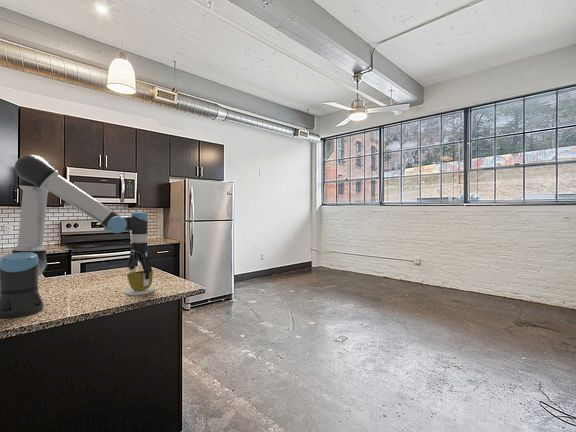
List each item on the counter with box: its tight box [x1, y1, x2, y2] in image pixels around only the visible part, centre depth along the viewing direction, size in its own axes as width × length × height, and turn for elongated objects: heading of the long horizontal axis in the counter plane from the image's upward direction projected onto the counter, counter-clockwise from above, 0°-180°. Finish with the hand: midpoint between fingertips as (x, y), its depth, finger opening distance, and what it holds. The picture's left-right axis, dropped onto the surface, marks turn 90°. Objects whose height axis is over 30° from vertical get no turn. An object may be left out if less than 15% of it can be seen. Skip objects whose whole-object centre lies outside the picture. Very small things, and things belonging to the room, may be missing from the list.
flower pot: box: [126, 270, 154, 291], centre depth 156 cm, size 9×9×9 cm
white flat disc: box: [123, 286, 155, 296], centre depth 158 cm, size 14×14×1 cm
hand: (139, 283), depth 158 cm, fingers open, 13 cm apart
